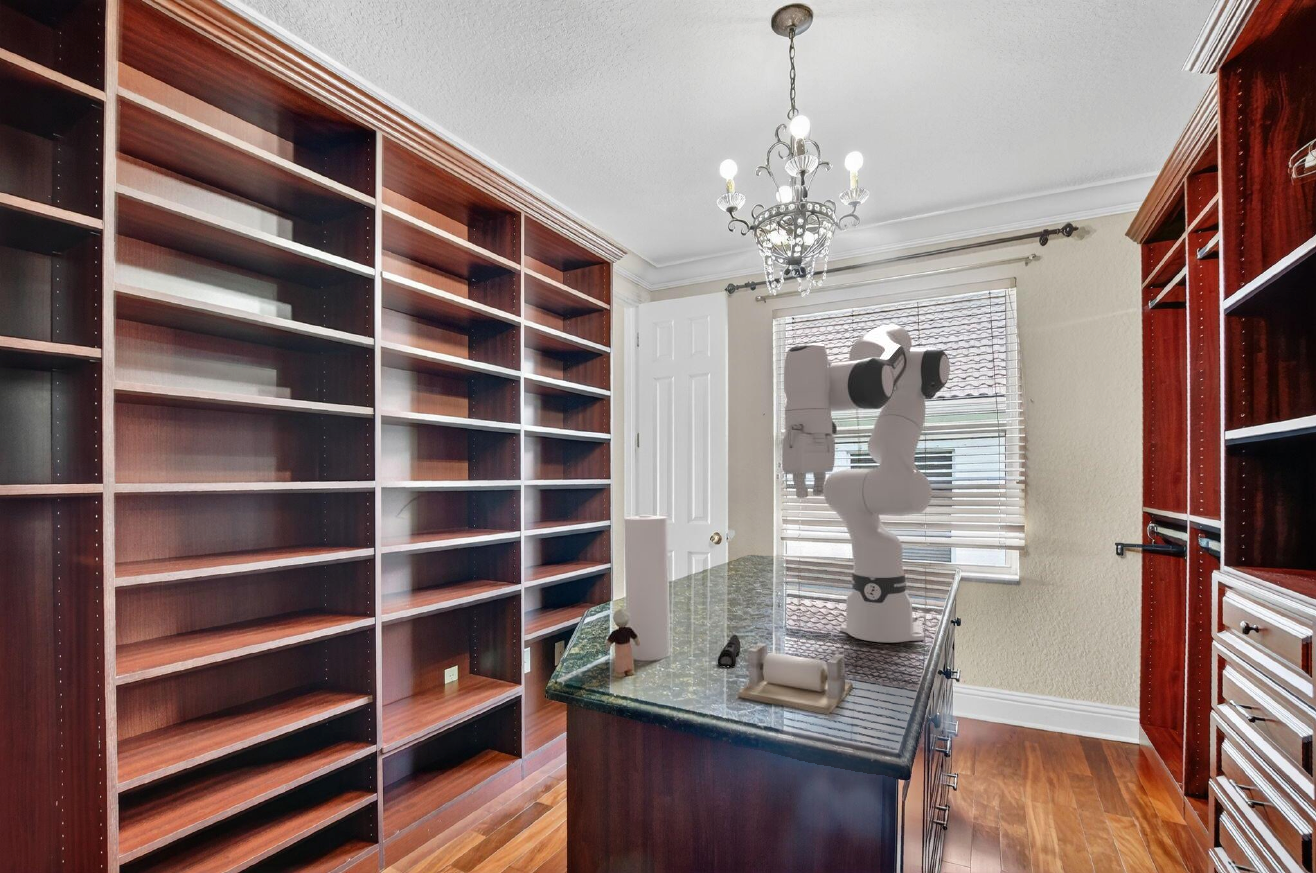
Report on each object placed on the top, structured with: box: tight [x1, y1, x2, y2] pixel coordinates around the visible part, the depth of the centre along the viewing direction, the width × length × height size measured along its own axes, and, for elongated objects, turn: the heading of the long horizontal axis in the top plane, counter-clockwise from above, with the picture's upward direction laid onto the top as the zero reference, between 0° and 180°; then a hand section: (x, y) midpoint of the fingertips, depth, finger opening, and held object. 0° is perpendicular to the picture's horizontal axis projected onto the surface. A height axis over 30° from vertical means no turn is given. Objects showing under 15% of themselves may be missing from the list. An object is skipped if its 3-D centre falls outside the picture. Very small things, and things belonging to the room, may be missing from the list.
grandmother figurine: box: [604, 608, 640, 678], centre depth 125 cm, size 8×4×13 cm, turn 135°
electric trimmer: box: [717, 634, 741, 668], centre depth 135 cm, size 4×16×3 cm, turn 166°
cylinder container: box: [623, 514, 671, 662], centre depth 138 cm, size 9×9×30 cm
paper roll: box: [763, 652, 827, 692], centre depth 113 cm, size 11×5×5 cm, turn 58°
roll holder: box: [737, 642, 854, 715], centre depth 113 cm, size 14×16×7 cm
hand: (810, 496), depth 123 cm, fingers open, 8 cm apart
